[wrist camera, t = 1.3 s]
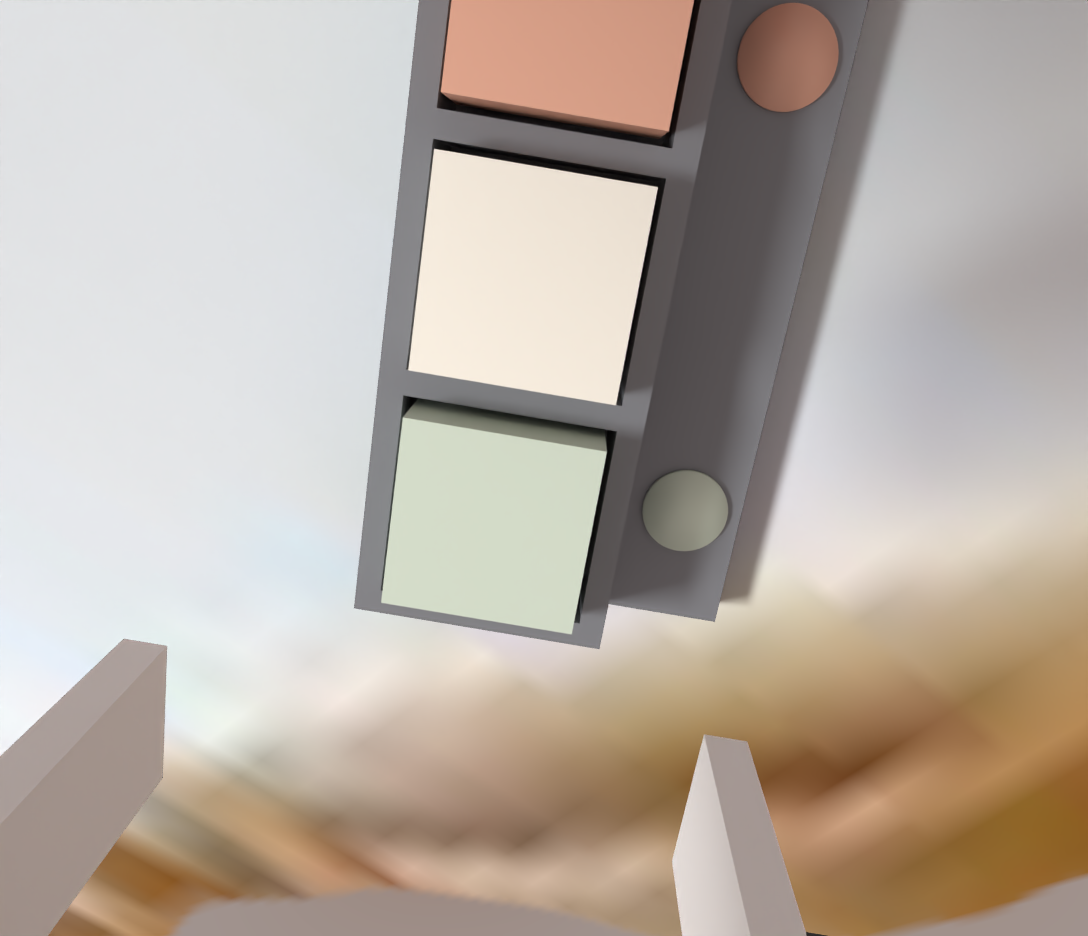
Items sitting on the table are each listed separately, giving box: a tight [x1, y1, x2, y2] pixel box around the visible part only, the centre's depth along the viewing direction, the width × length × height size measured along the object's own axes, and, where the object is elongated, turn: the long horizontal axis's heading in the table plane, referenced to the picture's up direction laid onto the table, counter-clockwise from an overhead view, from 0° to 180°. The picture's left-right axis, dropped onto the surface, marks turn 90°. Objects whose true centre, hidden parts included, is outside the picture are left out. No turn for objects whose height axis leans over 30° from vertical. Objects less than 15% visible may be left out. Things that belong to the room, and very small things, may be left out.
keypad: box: [354, 0, 869, 649], centre depth 27 cm, size 13×23×5 cm, turn 171°
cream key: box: [408, 149, 658, 405], centre depth 25 cm, size 6×6×3 cm
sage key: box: [381, 398, 607, 634], centre depth 27 cm, size 6×6×3 cm
